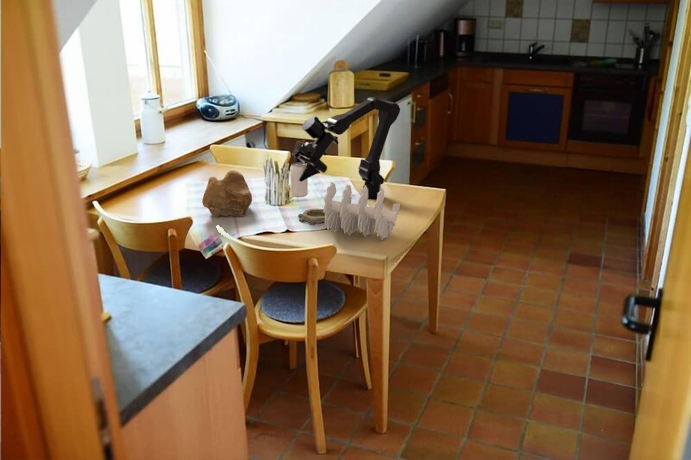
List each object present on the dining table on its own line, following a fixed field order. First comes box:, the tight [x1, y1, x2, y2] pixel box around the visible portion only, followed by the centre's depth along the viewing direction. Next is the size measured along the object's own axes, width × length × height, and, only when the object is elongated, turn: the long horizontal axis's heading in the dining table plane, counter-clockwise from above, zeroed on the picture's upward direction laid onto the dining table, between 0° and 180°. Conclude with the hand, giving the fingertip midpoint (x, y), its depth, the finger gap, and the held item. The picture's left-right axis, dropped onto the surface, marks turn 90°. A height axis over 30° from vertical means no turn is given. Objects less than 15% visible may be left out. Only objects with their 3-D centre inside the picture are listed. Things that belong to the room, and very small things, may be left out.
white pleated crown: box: [323, 181, 401, 241], centre depth 224 cm, size 18×18×25 cm
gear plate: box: [298, 207, 326, 226], centre depth 242 cm, size 14×14×2 cm
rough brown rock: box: [202, 170, 253, 218], centre depth 246 cm, size 23×17×15 cm
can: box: [289, 162, 309, 198], centre depth 245 cm, size 6×6×12 cm
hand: (295, 178), depth 245 cm, fingers closed on can, 6 cm apart
